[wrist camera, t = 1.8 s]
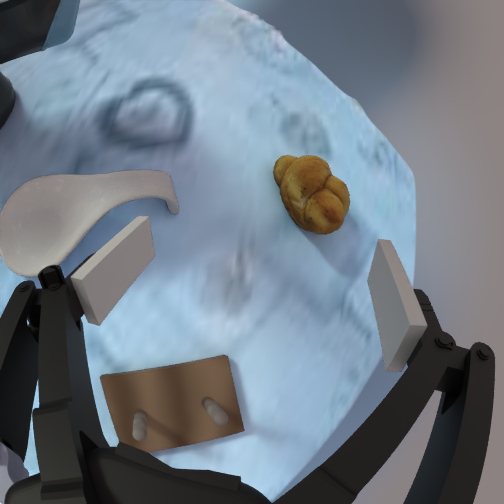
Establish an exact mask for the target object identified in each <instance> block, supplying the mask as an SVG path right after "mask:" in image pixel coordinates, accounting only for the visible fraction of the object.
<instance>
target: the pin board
mask: <svg viewBox="0 0 504 504" xmlns="http://www.w3.org/2000/svg"><path fill="white" fill-rule="evenodd" d="M100 380H101V384H102V388H103V391H104V395H105V399H106V402H107V405H108V409H109V412H110V415H111V418H112V421H113V425H114V428H115V430H116V433H117V436H118V439H119V441H120V442H123V443H125V444H128V445H130V446H133V447H135V448H138V449H141V450H143V451H146V452H152V451H158V450H164V449H170V448H176V447H181V446H186V445H191V444H196V443H200V442H204V441H209V440H213V439H217V438H221V437H225V436H228V435H232V434H236V433H239V432H242V431H245V430H244V426H243V422H242V418H241V414H240V409H239V405H238V401H237V396H236V392H235V387H234V383H233V378H232V374H231V369H230V364H229V360H228V356H226V355H221V356H216V357H211V358H207V359H202V360H197V361H191V362H186V363H181V364H175V365H169V366H163V367H157V368H151V369H144V370H137V371H130V372H122V373H114V374H106V375H101V377H100Z"/></svg>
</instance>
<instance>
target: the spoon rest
mask: <svg viewBox="0 0 504 504" xmlns="http://www.w3.org/2000/svg"><path fill="white" fill-rule="evenodd" d="M154 197H155V198H160V199H163V200H165V201H166V203H167V206H168V208H169V211H170V212H171V213H172V214H178V213H179V205H178V201H177V198H176V195H175V191H174V187H173V183H172V179H171V176H170V175H169V174H168V173H166V172H163V171H156V170H129V171H119V172H111V173H105V174H95V175H74V174H56V175H46V176H40V177H37V178H34V179H31V180H29V181H27V182H25V183H24V184H22V185H21V186H20V187H18V188H17V189H16V190H15V191H14V192H13V193H12V194H11V195H10V197H9V198H8V200H7V201H6V203H5V205H4V207H3V209H2V211H1V214H0V254H1V257H2V259H3V261H4V262H5V264H6V266H7V267H8V268H9V269H10V270H11V271H13V272H14V273H16V274H18V275H21V276H25V277H38V273H39V272H40V271H41V270H42V269H43V268H45V267H47V266H50V265H60V264H61V263H62V262H63V261H64V260H65V259H66V258H67V257H68V256H69V255H70V253H71V252H72V251H73V250H74V249H75V248H76V246H77V245H78V244H79V243H80V241H81V240H82V239H83V238H84V237H85V235H86V234H87V233H88V232H89V231H90V229H91V228H92V227H93V226H94V225H95V224H96V223H97V222H98V221H99V220H100V219H101V218H102V217H103V216H104V215H106V214H107V213H108V212H110V211H111V210H112V209H114V208H116V207H117V206H119V205H121V204H124V203H126V202H129V201H133V200H137V199H142V198H154Z"/></svg>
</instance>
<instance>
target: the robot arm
mask: <svg viewBox="0 0 504 504" xmlns="http://www.w3.org/2000/svg"><path fill="white" fill-rule="evenodd" d="M79 4H80V0H0V64H3V63H5V62H8V61H11V60H14V59H16V58H19V57H22V56H25V55H29V54H32V53H35V52H39V51H44V50H46V49H47V48H50V47H53V46H56V45H59V44H62V43H64V42H66V41H67V40H68V39H69V38H70V37H71V36H72V34H73V32H74V28H75V24H76V19H77V14H78V9H79ZM14 102H15V92H14V89H13V86H12V84H11V82H10V80H9V79H8V78H6V77H5V76H4V75H3V74H2V73H1V72H0V128H1V127H2V126H3V124H4V123H5V121H6V120H7V118H8V117H9V115H10V113H11V111H12V108H13V106H14ZM154 257H155V252H154V246H153V239H152V233H151V226H150V219H149V216H138V217H136V218H135V219H134V220H133V221H132V222H130V223H129V224H128V225H127V226H126V227H125V228H123V229H122V230H121V231H120V232H119V233H118V234H116V235H115V236H114V237H113V238H112V239H111V240H110V241H108V242H107V243H106V244H105V245H104V246H103V247H102V248H101V249H99V250H98V251H97V252H96V253H94V254H92V255H90V256H88V257H87V258H86V259H85V260H84V261H83V263H81V264H80V265H79V266H78V267H77V268H76V269H74V270H73V271H72V272H71V273H70V274H69V275H68V276H67V277H66V278H64V276H63V273H62V270H61V267H60V266H59V265H50V266H47V267H45V268H43V269H42V270H41V271H40V272H39V273H38V278H39V281H40V283H41V286H42V288H43V289H36V287H35V284H34V282H33V281H30V280H28V281H23V282H21V283H20V284H19V285H18V286H17V287H16V288H15V290H14V292H13V294H12V296H11V298H10V299H9V301H8V303H7V305H6V307H5V310H4V312H3V314H2V316H1V318H0V502H1V503H2V504H351V503H352V502H353V501H354V500H355V499H356V497H357V495H358V493H359V492H360V491H361V490H362V489H363V487H364V486H365V485H366V484H367V483H368V482H369V481H370V480H371V479H372V477H373V476H374V475H375V474H376V473H377V472H378V470H379V469H380V468H381V467H382V466H383V464H384V463H385V462H386V461H387V460H388V458H389V457H390V456H391V454H392V453H393V452H394V451H395V449H396V448H397V447H398V445H399V444H400V443H401V441H402V440H403V439H404V437H405V436H406V434H407V433H408V431H409V430H410V429H411V427H412V426H413V424H414V423H415V421H416V420H417V418H418V417H419V415H420V413H421V412H422V410H423V409H424V407H425V406H426V404H427V402H428V400H429V399H430V397H431V396H432V394H433V392H434V390H438V391H441V392H442V395H441V399H440V403H439V407H438V411H437V415H436V418H435V422H434V425H433V429H432V432H431V435H430V439H429V442H428V445H427V447H426V450H425V453H424V456H423V459H422V461H421V464H420V467H419V469H418V472H417V474H416V477H415V479H414V481H413V484H412V486H411V488H410V491H409V493H408V495H407V497H406V499H405V501H404V503H403V504H473V502H474V499H475V495H476V492H477V489H478V485H479V482H480V478H481V474H482V470H483V465H484V461H485V456H486V451H487V446H488V440H489V434H490V427H491V419H492V410H493V399H494V381H495V356H494V353H493V351H492V349H491V348H490V347H489V346H488V345H486V344H484V343H481V342H477V343H475V344H473V345H472V347H471V348H470V350H469V349H466V348H462V347H459V346H456V343H455V340H454V339H453V337H452V336H451V335H449V334H448V333H446V332H444V331H442V329H441V327H440V324H439V322H438V319H437V317H436V315H435V312H433V311H434V310H433V307H432V306H431V303H430V301H429V298H428V296H426V294H425V293H424V292H423V291H422V290H419V289H413V288H412V286H411V283H410V281H409V279H408V276H407V274H406V272H405V270H404V267H403V265H402V263H401V261H400V259H399V257H398V255H397V252H396V250H395V248H394V246H393V244H392V242H391V241H390V240H382V239H378V241H377V245H376V249H375V253H374V257H373V261H372V265H371V268H370V272H369V276H368V279H367V282H368V286H369V290H370V294H371V299H372V303H373V307H374V312H375V316H376V321H377V326H378V331H379V336H380V341H381V346H382V352H383V358H384V364H385V370H386V371H390V372H391V371H392V372H393V371H395V372H401V371H402V370H403V368H404V366H405V365H406V363H407V365H408V368H407V369H406V371H405V372H404V374H403V375H402V376H401V378H400V379H399V380H398V382H397V383H396V384H395V386H394V387H393V388H392V390H391V391H390V392H389V393H388V394H387V396H386V397H385V398H384V399H383V401H382V402H381V403H380V404H379V405H378V407H377V408H376V409H375V410H374V412H373V413H372V414H371V415H370V416H369V417H368V418H367V419H366V420H365V422H364V423H363V424H362V425H361V426H360V427H359V428H358V429H357V430H356V431H355V432H354V433H353V435H352V436H351V437H350V438H349V439H348V440H347V441H346V442H345V443H344V444H343V445H342V446H341V447H340V448H339V449H338V450H337V451H336V452H335V453H334V454H333V455H332V456H330V457H329V458H328V459H327V460H326V461H325V462H324V463H323V464H322V465H320V466H319V467H317V468H316V469H315V470H314V471H313V472H311V473H310V474H309V475H308V476H307V477H305V478H304V479H303V480H302V481H301V482H299V483H298V484H297V485H296V486H294V487H293V488H292V489H291V490H289V491H288V492H287V493H285V494H284V495H283V496H281V497H280V498H279V499H277V500H276V501H275V502H273V503H271V502H270V501H269V500H268V499H267V498H266V497H265V496H264V495H263V494H262V493H261V492H259V491H258V490H256V489H255V488H253V487H251V486H249V485H247V484H245V483H243V482H241V476H235V475H230V474H225V473H220V472H215V471H211V470H192V469H175V468H172V467H170V466H168V465H167V464H165V463H163V462H162V461H160V460H158V459H157V458H155V457H154V456H152V455H151V454H149V453H147V452H146V451H143V450H141V449H138V448H135V447H133V446H130V445H128V444H125V443H123V442H120V441H119V443H118V446H117V447H110V446H109V444H108V443H107V441H106V439H105V437H104V435H103V432H102V428H101V425H100V421H99V417H98V413H97V408H96V404H95V399H94V395H93V390H92V385H91V379H90V374H89V368H88V362H87V355H86V348H85V340H84V331H83V323H82V320H81V317H82V316H83V314H85V316H86V319H87V321H88V323H91V324H95V325H98V326H100V325H101V323H102V322H103V321H104V319H105V318H106V317H107V315H108V314H109V313H110V311H111V310H112V309H113V308H114V306H115V305H116V304H117V302H118V301H119V300H120V299H121V297H122V296H123V295H124V294H125V292H126V291H127V290H128V288H129V287H130V286H131V285H132V284H133V282H134V281H135V280H136V279H137V277H138V276H139V275H140V274H141V272H142V271H143V270H144V269H145V268H146V266H147V265H148V264H149V263H150V262H151V260H152V259H153V258H154ZM27 320H28V322H29V325H27ZM37 381H38V386H39V408H35V409H34V410H33V413H32V408H33V402H34V396H35V391H36V386H37ZM31 414H32V419H33V430H34V439H35V446H36V453H37V459H38V465H39V470H40V473H38V474H35V475H33V476H30V477H29V472H28V470H27V469H26V468H24V464H23V463H24V460H25V456H26V451H27V446H28V439H29V430H30V422H31Z"/></svg>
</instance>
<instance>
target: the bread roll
mask: <svg viewBox="0 0 504 504" xmlns="http://www.w3.org/2000/svg"><path fill="white" fill-rule="evenodd" d="M273 173H274V178H275V181H276V183H277V185H278V186H279V187H280V195H281V198H282V201H283V203H284V206H285V208H286V210H287V211H288V213H289V214H290V216H291V217H292V218H293V220H294V221H295V222H296V223H297V224H298V225H299V226H300V227H301V228H303V229H305V230H307V231H311V232H315V233H316V234H329V233H332V232H334V231H335V230H338V229H339V228H340V226H341V225H342V224H343V221H344V216H345V215H346V214H347V212H348V210H349V205H350V198H349V196H350V194H349V191H348V188H347V186H346V184H345V183H344V182H343V181H341V180H340V179H338V178H337V177H335V176H333V175H332V173H331V171H330V168H329V165H328V163H327V162H326V161H325V160H323V159H321V158H319V157H317V156H310V155H306V156H302V157H299V158H297V157H294V156H291V155H285V156H281V157H280V158H279V159H278V160H277V161H276V163H275V166H274V171H273Z"/></svg>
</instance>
